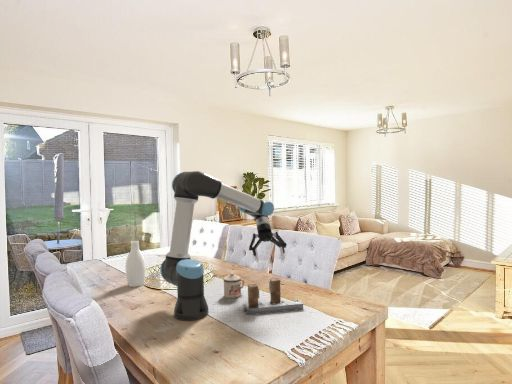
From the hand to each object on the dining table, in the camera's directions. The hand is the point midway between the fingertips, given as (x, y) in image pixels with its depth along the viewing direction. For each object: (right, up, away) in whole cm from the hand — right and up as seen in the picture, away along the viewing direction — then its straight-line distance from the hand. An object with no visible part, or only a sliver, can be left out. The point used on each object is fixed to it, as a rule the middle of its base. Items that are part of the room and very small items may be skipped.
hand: (270, 259), depth 172 cm
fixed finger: (-9, -19, -19) cm, 28 cm away
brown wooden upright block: (+2, -18, -10) cm, 21 cm away
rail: (+1, -19, -19) cm, 27 cm away
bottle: (-77, -19, +23) cm, 83 cm away
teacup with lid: (-18, -19, +1) cm, 26 cm away
